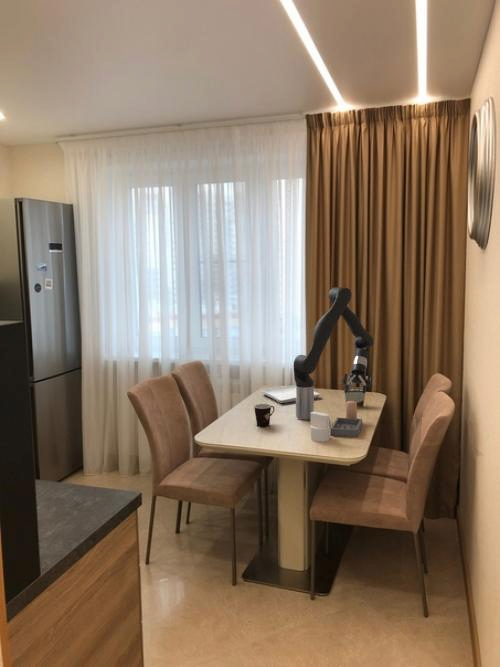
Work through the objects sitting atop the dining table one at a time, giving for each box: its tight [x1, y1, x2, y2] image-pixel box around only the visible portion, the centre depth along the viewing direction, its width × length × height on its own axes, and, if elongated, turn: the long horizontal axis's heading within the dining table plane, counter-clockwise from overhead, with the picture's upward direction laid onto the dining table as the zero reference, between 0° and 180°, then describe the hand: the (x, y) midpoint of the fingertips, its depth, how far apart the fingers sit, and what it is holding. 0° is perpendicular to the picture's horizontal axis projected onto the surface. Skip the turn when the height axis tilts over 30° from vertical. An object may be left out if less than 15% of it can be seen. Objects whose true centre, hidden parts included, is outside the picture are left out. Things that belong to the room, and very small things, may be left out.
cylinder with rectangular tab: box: [309, 411, 331, 443], centre depth 256 cm, size 9×9×12 cm
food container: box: [343, 386, 367, 408], centre depth 309 cm, size 12×6×10 cm, turn 84°
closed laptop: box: [260, 384, 321, 404], centre depth 333 cm, size 27×27×4 cm
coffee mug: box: [253, 403, 275, 428], centre depth 279 cm, size 12×9×10 cm
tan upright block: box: [345, 401, 358, 419], centre depth 280 cm, size 5×5×10 cm
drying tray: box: [330, 416, 363, 438], centre depth 266 cm, size 18×13×5 cm
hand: (355, 392), depth 288 cm, fingers open, 8 cm apart
